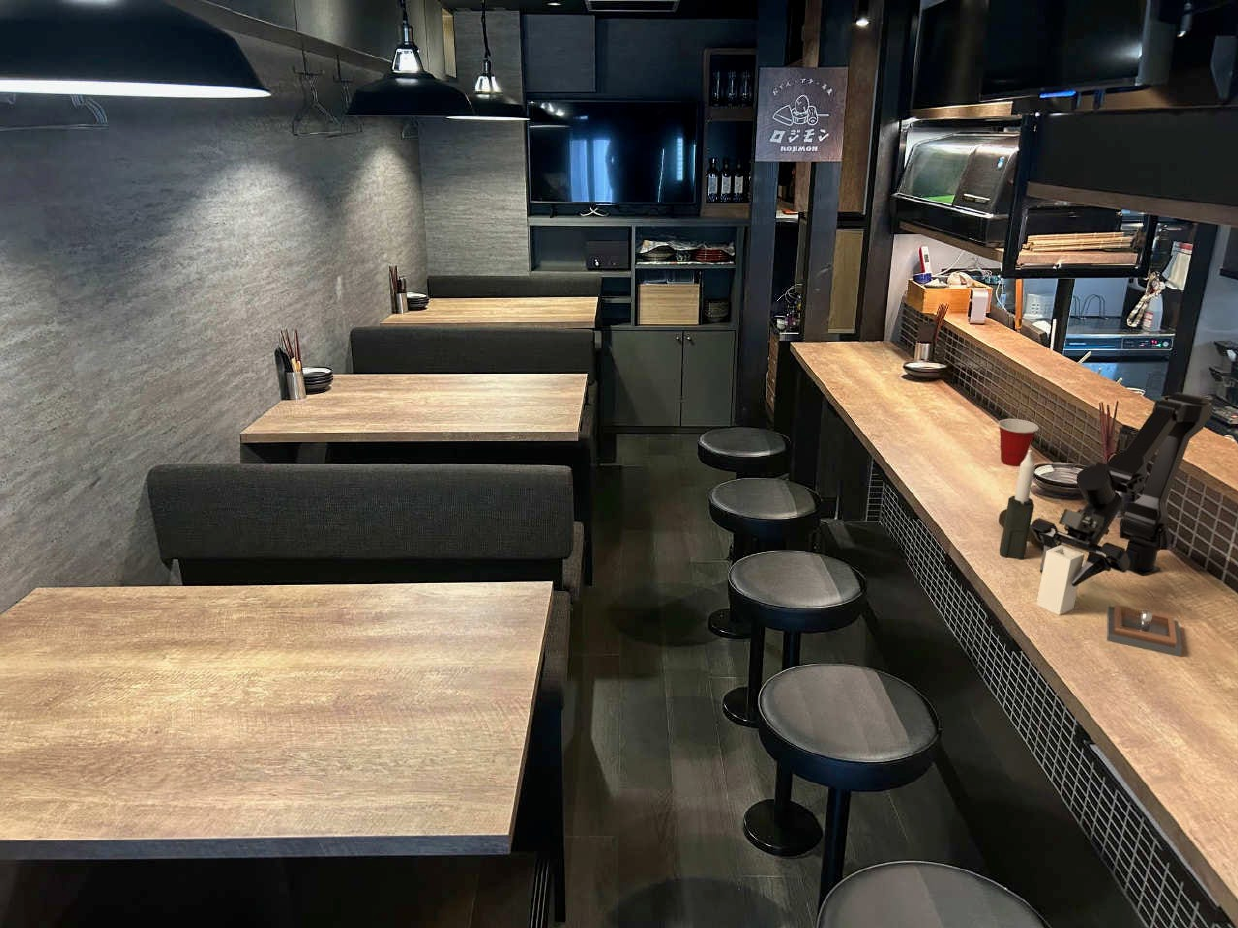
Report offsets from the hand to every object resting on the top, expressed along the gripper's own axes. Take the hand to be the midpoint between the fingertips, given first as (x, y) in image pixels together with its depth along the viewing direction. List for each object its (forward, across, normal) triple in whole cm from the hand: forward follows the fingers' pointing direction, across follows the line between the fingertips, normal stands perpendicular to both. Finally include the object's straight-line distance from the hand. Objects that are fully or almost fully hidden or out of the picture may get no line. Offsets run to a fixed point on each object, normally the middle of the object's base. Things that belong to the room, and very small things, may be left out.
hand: (1056, 578), depth 182 cm
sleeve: (+4, 0, +6) cm, 7 cm away
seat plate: (+1, +16, +8) cm, 18 cm away
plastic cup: (-48, -57, +58) cm, 94 cm away
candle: (-7, -20, +17) cm, 27 cm away
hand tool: (-14, -23, +24) cm, 37 cm away
